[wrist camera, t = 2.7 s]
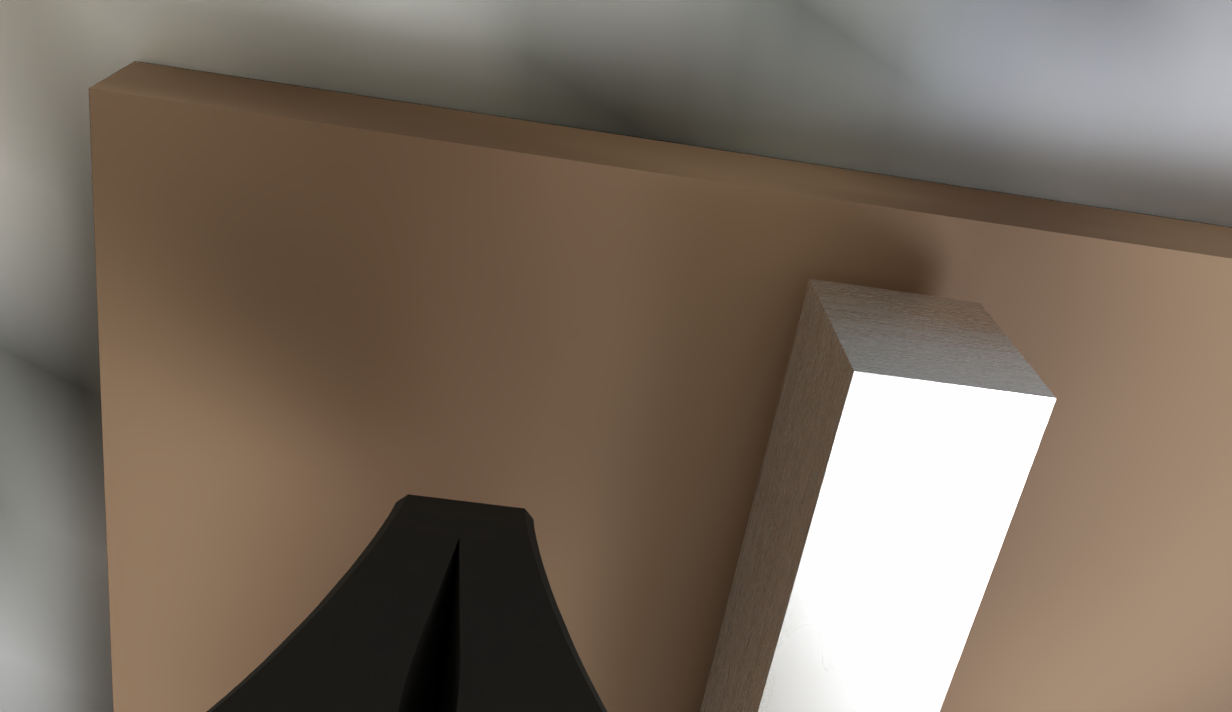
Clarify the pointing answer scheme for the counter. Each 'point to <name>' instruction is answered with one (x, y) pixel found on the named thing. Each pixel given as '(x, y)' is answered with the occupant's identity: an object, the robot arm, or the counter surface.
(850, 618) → the lock bar
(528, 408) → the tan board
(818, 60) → the counter surface
